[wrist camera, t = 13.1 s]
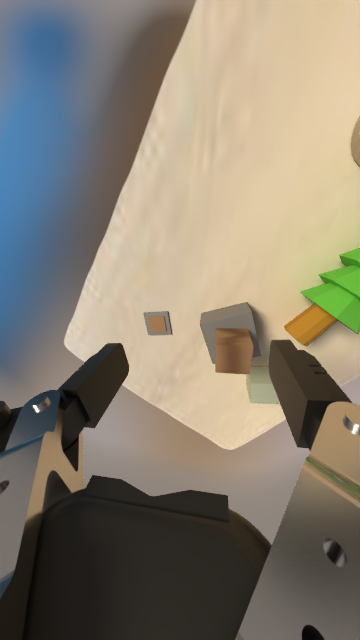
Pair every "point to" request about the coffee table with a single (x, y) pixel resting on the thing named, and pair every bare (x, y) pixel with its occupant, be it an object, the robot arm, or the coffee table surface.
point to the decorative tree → (331, 302)
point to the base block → (228, 325)
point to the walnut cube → (233, 351)
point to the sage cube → (261, 386)
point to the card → (157, 323)
